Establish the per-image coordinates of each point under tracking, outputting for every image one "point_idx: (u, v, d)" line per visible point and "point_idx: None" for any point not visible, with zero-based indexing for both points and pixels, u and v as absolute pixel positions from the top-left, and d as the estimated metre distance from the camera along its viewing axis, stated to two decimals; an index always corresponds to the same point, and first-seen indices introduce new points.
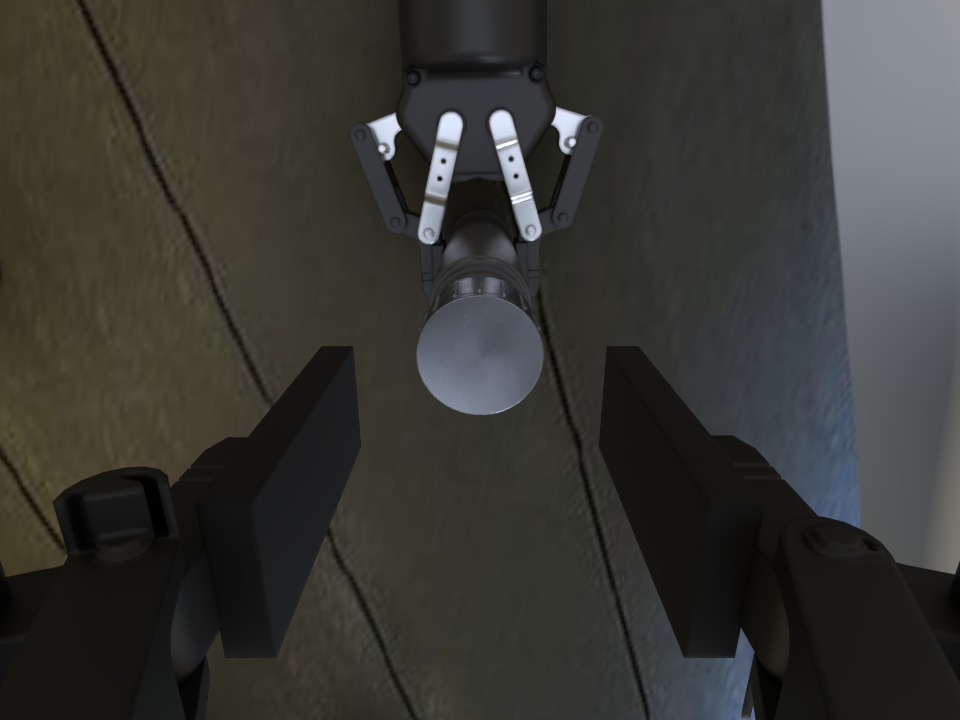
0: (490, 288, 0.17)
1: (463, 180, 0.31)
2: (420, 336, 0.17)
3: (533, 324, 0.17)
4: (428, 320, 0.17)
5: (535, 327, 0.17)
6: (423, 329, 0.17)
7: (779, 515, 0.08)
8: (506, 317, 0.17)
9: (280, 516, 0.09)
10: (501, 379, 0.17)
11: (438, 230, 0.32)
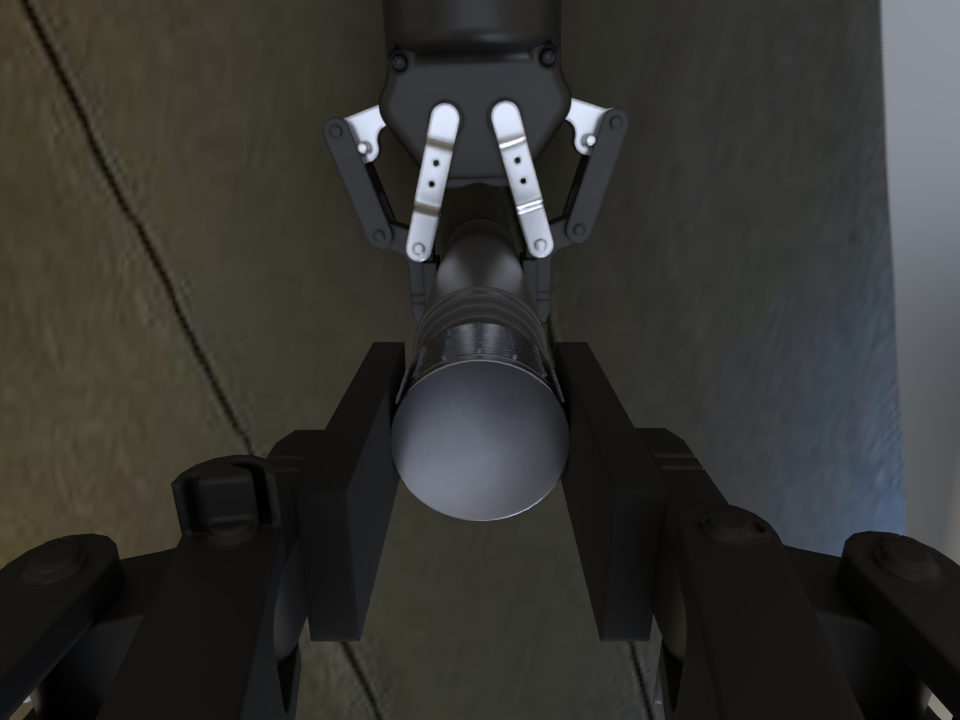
0: (495, 345, 0.12)
1: (460, 186, 0.26)
2: (394, 416, 0.12)
3: (557, 400, 0.12)
4: (406, 394, 0.12)
5: (559, 404, 0.12)
6: (399, 406, 0.12)
7: (690, 503, 0.09)
8: (518, 390, 0.11)
9: (362, 504, 0.09)
10: (510, 474, 0.12)
11: (430, 245, 0.27)
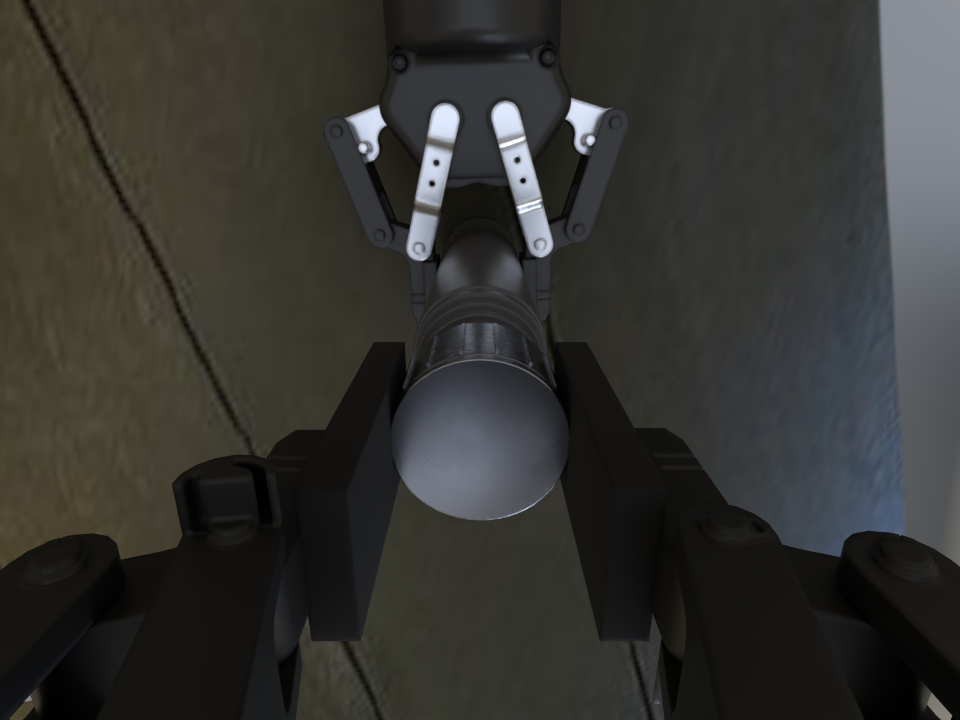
0: None
1: (460, 185, 0.26)
2: (466, 518, 0.13)
3: (415, 385, 0.11)
4: (443, 511, 0.13)
5: (418, 381, 0.11)
6: (456, 515, 0.13)
7: (690, 503, 0.09)
8: (414, 422, 0.12)
9: (363, 504, 0.09)
10: (507, 410, 0.12)
11: (430, 244, 0.27)
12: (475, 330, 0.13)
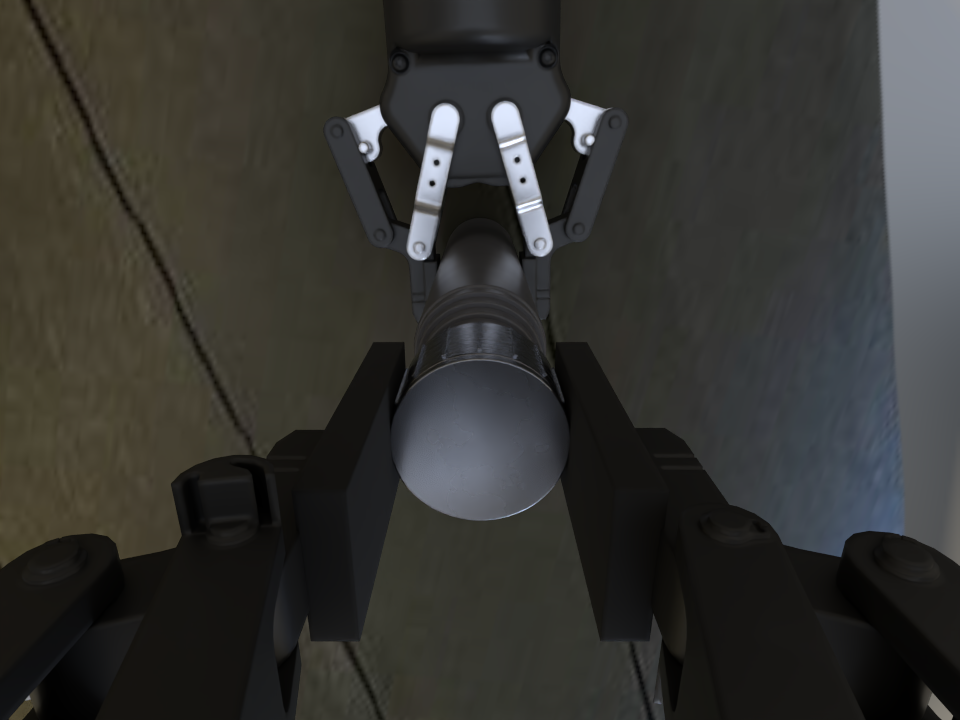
0: None
1: (460, 185, 0.26)
2: (569, 441, 0.12)
3: (431, 506, 0.12)
4: (565, 462, 0.12)
5: (427, 504, 0.12)
6: (568, 450, 0.12)
7: (691, 503, 0.09)
8: (468, 502, 0.12)
9: (362, 504, 0.09)
10: (437, 426, 0.12)
11: (431, 244, 0.27)
12: None
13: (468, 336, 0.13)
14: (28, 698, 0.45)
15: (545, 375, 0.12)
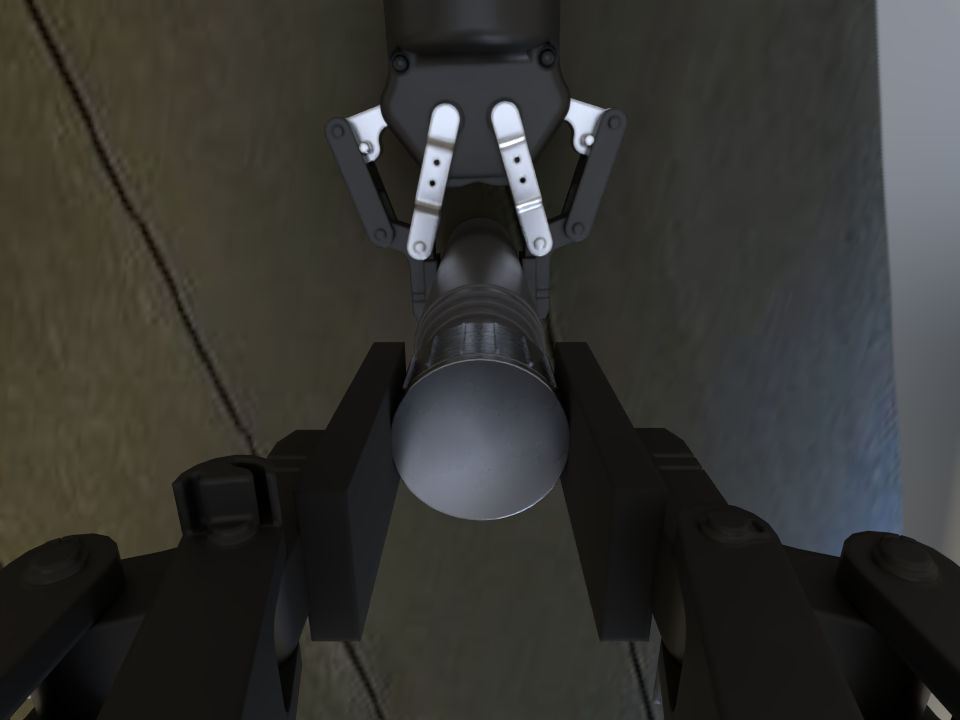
0: None
1: (460, 185, 0.26)
2: (458, 362, 0.11)
3: (560, 474, 0.12)
4: (485, 358, 0.11)
5: (558, 478, 0.12)
6: (470, 360, 0.11)
7: (690, 503, 0.09)
8: (549, 442, 0.12)
9: (363, 504, 0.09)
10: (469, 482, 0.12)
11: (431, 244, 0.27)
12: None
13: None
14: (29, 697, 0.46)
15: (405, 386, 0.12)
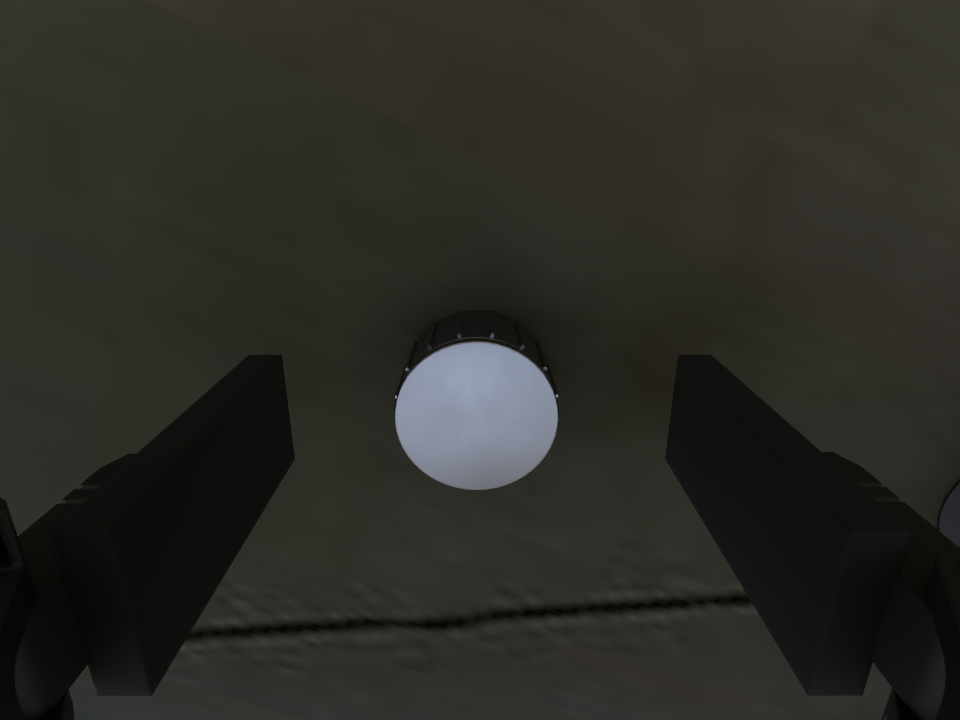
0: (548, 373, 0.14)
1: None
2: (456, 345, 0.13)
3: (549, 448, 0.13)
4: (481, 341, 0.13)
5: (547, 451, 0.13)
6: (467, 343, 0.13)
7: (912, 542, 0.08)
8: (539, 418, 0.13)
9: (160, 542, 0.08)
10: (466, 455, 0.13)
11: None
12: None
13: None
14: None
15: (408, 368, 0.13)
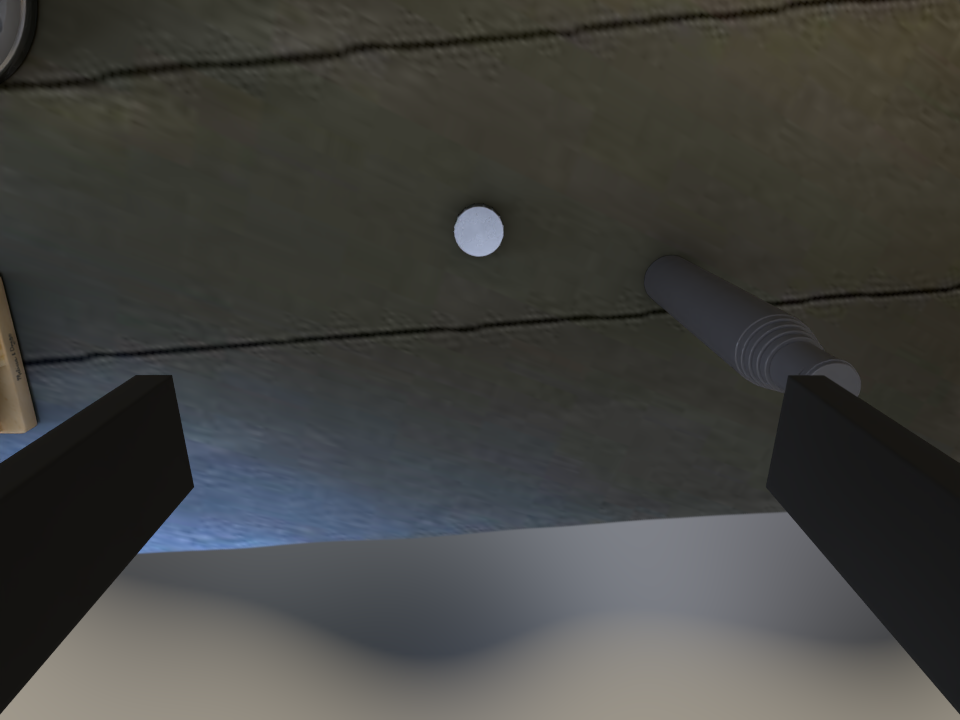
0: None
1: None
2: (473, 207, 0.43)
3: (501, 241, 0.44)
4: (480, 206, 0.43)
5: (500, 242, 0.44)
6: (476, 207, 0.43)
7: None
8: (497, 231, 0.44)
9: None
10: (476, 244, 0.44)
11: None
12: None
13: None
14: None
15: (458, 216, 0.44)
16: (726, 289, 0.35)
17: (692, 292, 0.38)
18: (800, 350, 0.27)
